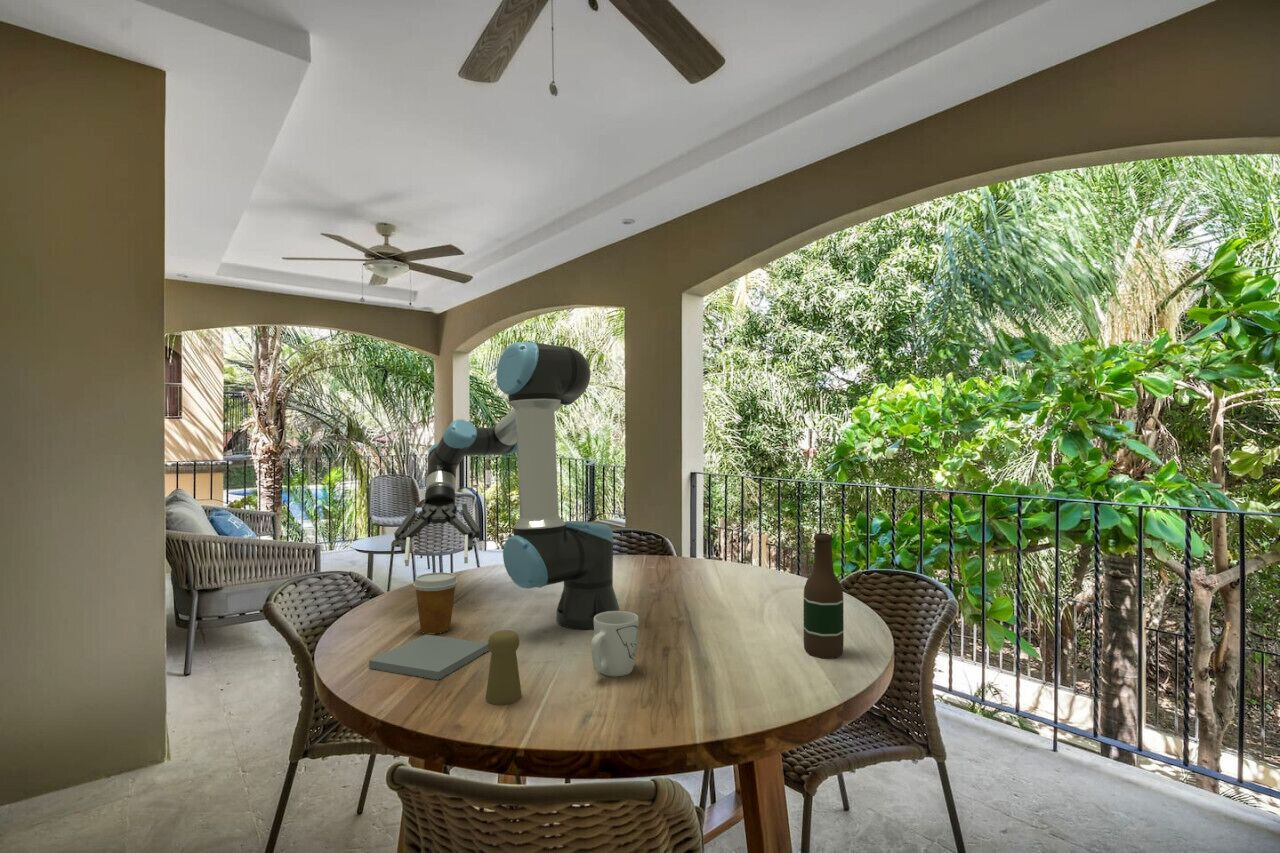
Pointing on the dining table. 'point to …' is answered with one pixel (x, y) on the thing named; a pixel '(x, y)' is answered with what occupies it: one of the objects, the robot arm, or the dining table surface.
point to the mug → (614, 642)
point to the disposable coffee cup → (435, 601)
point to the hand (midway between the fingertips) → (436, 561)
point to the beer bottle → (823, 604)
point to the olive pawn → (503, 669)
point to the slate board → (429, 656)
